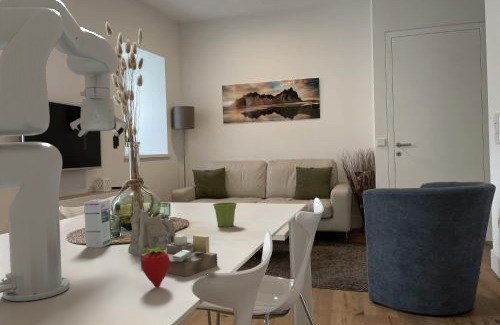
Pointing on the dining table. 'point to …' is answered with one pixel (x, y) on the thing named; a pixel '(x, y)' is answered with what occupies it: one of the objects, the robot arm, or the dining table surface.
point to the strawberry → (155, 265)
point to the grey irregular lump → (149, 232)
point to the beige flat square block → (201, 243)
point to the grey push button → (180, 240)
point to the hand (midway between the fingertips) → (99, 149)
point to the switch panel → (189, 260)
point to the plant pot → (225, 213)
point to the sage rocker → (182, 255)
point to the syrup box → (97, 223)
